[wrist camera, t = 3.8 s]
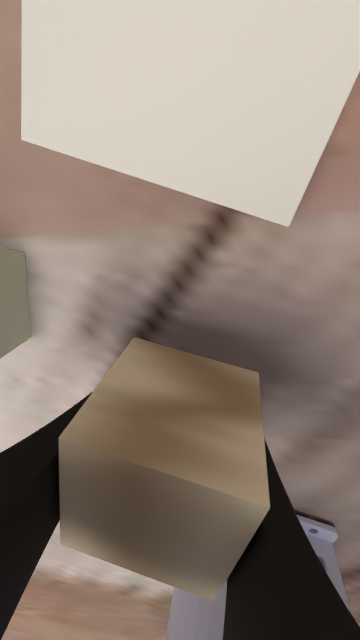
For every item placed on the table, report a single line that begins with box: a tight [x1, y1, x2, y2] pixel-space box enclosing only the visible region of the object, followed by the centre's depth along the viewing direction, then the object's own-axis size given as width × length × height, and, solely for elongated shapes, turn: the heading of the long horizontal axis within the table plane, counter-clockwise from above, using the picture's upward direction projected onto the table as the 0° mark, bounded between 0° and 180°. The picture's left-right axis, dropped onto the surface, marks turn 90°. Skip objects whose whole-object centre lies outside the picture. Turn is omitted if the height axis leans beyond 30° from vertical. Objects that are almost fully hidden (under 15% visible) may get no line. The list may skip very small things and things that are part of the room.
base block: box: [21, 0, 360, 227], centre depth 8 cm, size 8×8×4 cm
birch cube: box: [59, 337, 270, 601], centre depth 10 cm, size 5×5×5 cm
